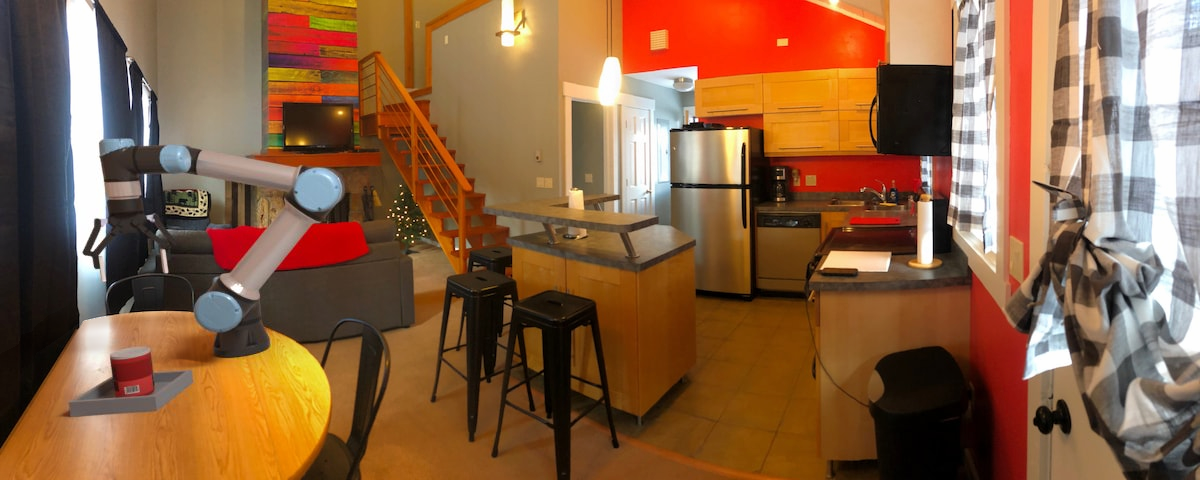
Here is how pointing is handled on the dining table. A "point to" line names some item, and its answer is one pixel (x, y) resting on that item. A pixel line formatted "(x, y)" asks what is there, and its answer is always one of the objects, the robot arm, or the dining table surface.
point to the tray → (106, 402)
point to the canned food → (132, 372)
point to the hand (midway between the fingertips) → (135, 276)
